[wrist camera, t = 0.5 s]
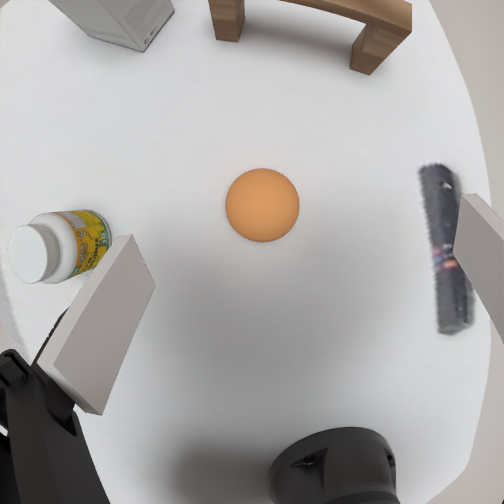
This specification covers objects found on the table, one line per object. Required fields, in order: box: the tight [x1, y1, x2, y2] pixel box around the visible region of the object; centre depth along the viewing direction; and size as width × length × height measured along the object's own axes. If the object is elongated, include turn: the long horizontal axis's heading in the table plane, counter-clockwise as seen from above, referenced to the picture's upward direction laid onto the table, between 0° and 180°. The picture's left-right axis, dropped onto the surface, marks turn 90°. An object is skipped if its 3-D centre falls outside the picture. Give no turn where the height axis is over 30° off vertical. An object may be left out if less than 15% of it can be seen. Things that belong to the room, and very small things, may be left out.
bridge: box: [208, 0, 412, 75], centre depth 20 cm, size 3×14×9 cm, turn 78°
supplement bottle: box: [8, 210, 111, 284], centre depth 22 cm, size 5×5×10 cm
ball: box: [226, 169, 299, 242], centre depth 24 cm, size 6×6×6 cm
